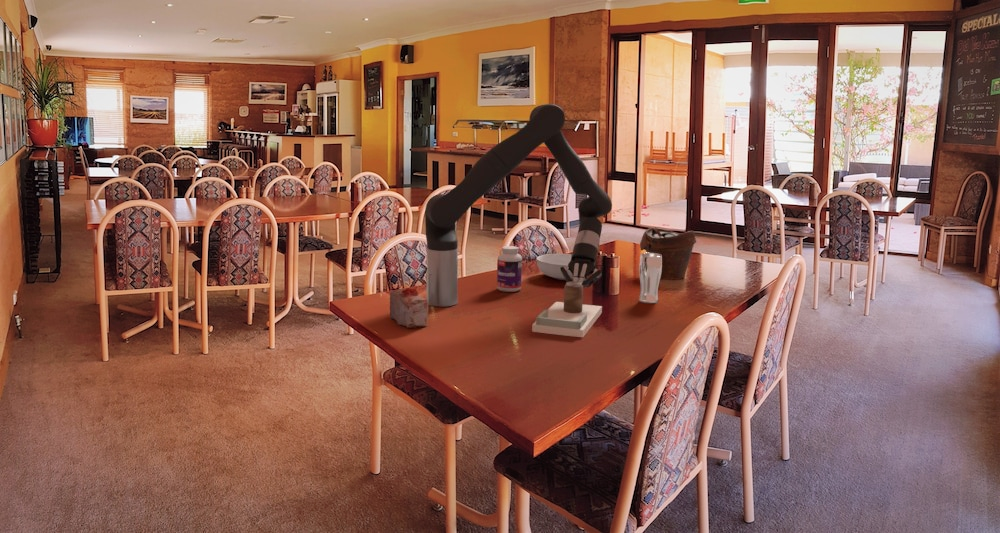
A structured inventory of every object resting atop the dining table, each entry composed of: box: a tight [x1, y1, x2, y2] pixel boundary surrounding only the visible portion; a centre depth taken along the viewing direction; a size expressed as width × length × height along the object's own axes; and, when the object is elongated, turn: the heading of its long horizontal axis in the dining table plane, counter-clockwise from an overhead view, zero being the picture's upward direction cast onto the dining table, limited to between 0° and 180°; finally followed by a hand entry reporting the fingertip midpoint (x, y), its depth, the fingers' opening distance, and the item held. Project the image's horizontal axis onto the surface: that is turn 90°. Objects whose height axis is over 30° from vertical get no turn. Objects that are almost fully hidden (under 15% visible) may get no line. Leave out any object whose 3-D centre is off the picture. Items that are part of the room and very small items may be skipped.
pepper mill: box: [563, 281, 584, 313], centre depth 210 cm, size 5×5×8 cm
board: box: [531, 301, 603, 338], centre depth 206 cm, size 26×14×4 cm, turn 161°
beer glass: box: [638, 252, 662, 304], centre depth 229 cm, size 7×7×15 cm
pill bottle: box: [496, 245, 523, 293], centre depth 241 cm, size 8×8×14 cm
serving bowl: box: [536, 253, 574, 281], centre depth 261 cm, size 21×21×7 cm
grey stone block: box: [389, 287, 430, 329], centre depth 202 cm, size 14×8×10 cm, turn 33°
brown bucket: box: [639, 227, 697, 280], centre depth 266 cm, size 18×20×18 cm
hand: (575, 297), depth 213 cm, fingers closed
